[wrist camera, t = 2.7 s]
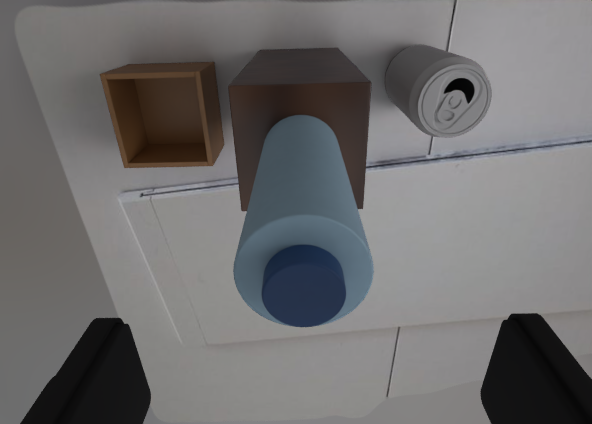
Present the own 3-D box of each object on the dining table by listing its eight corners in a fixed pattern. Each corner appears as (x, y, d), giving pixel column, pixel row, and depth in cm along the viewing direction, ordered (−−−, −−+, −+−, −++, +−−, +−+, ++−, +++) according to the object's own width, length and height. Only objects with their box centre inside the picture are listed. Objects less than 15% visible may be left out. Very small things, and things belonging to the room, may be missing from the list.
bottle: (254, 174, 24) (213, 331, 12) (276, 103, 22) (250, 213, 10) (323, 195, 24) (345, 363, 13) (350, 129, 22) (406, 258, 11)
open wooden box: (146, 147, 44) (124, 168, 38) (128, 64, 39) (99, 74, 34) (224, 145, 43) (213, 166, 38) (214, 61, 39) (199, 71, 33)
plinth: (264, 126, 42) (241, 211, 25) (259, 49, 39) (227, 85, 21) (336, 125, 42) (363, 209, 25) (338, 47, 38) (371, 81, 21)
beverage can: (456, 58, 39) (515, 77, 28) (424, 116, 42) (467, 153, 31) (401, 33, 38) (441, 44, 27) (372, 95, 41) (398, 126, 30)
